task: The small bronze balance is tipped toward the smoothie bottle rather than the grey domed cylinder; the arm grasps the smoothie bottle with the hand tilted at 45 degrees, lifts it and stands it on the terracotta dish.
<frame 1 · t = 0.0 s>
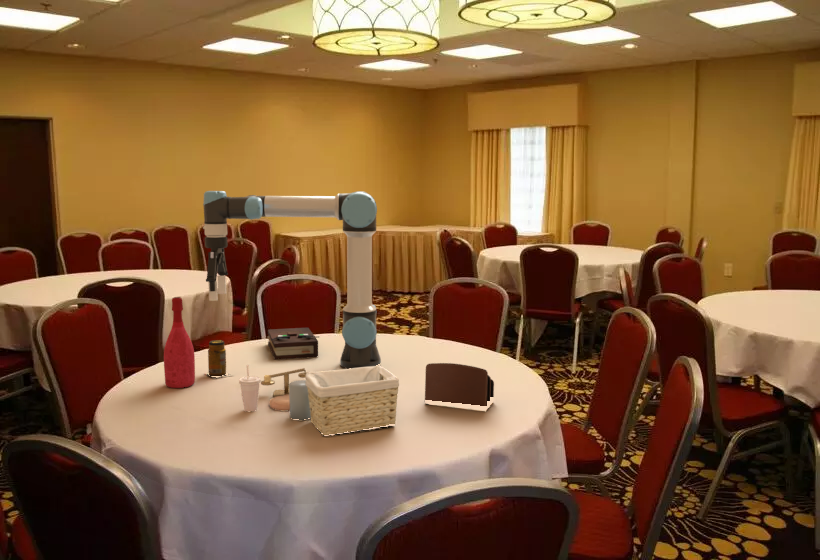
hand: (217, 297, 248), 28 cm above the table, tool pointing down, fingers open, 13 cm apart
grey domed cylinder: (301, 416, 211), on the table
dish: (289, 404, 222), on the table
smoothie: (250, 410, 216), on the table
toaster: (459, 404, 224), on the table
balance: (286, 394, 231), on the table
storage basket: (351, 425, 205), on the table
dark electronic device: (292, 351, 289), on the table
condiment: (218, 375, 253), on the table
wine bottle: (180, 385, 241), on the table
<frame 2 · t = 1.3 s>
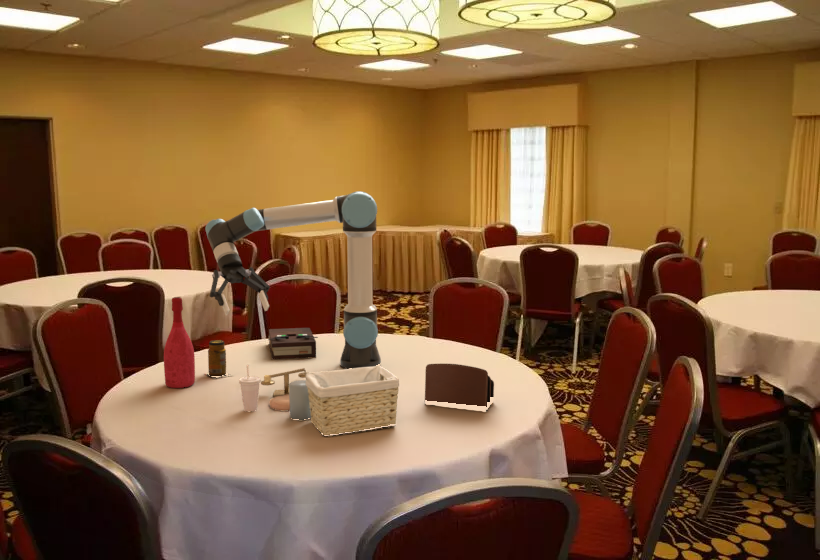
hand: (247, 310, 230), 27 cm above the table, tool tilted 45°, fingers open, 13 cm apart
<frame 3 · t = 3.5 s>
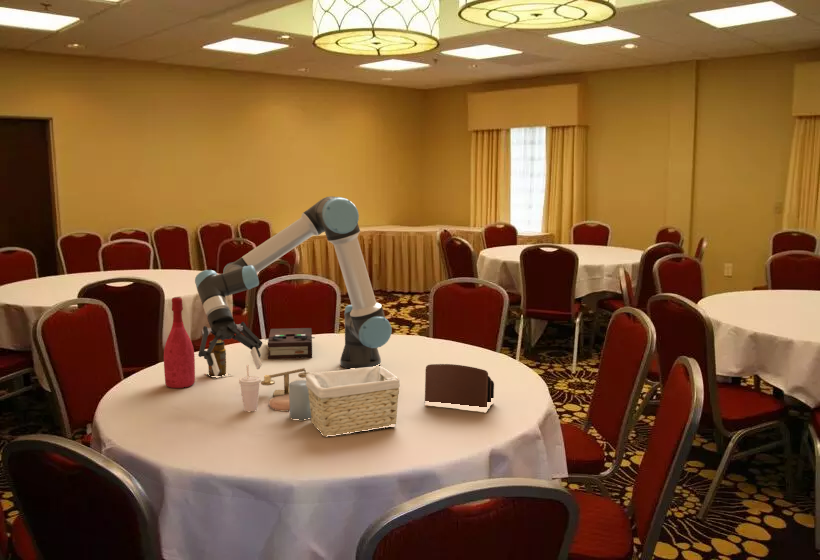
hand: (238, 370, 218), 11 cm above the table, tool tilted 45°, fingers open, 13 cm apart
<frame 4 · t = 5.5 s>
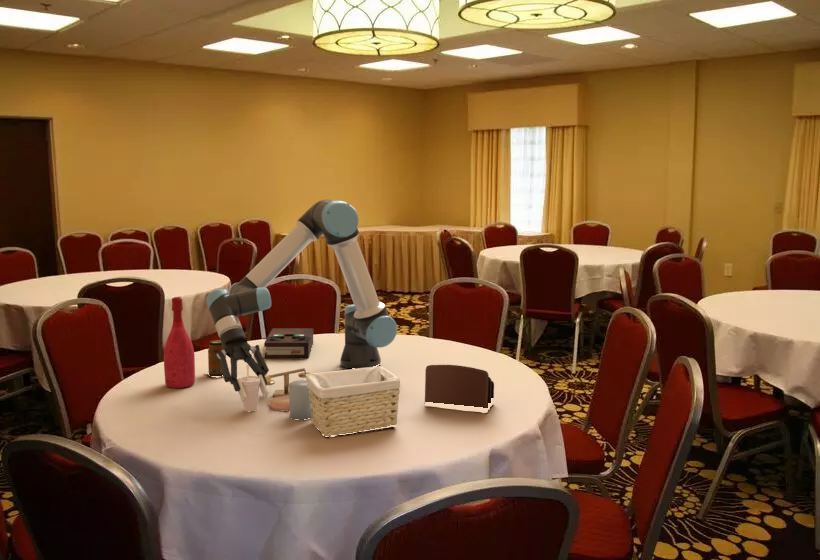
hand: (255, 397, 213), 5 cm above the table, tool tilted 45°, fingers closed on smoothie, 6 cm apart
smoothie: (250, 410, 216), on the table, touching gripper
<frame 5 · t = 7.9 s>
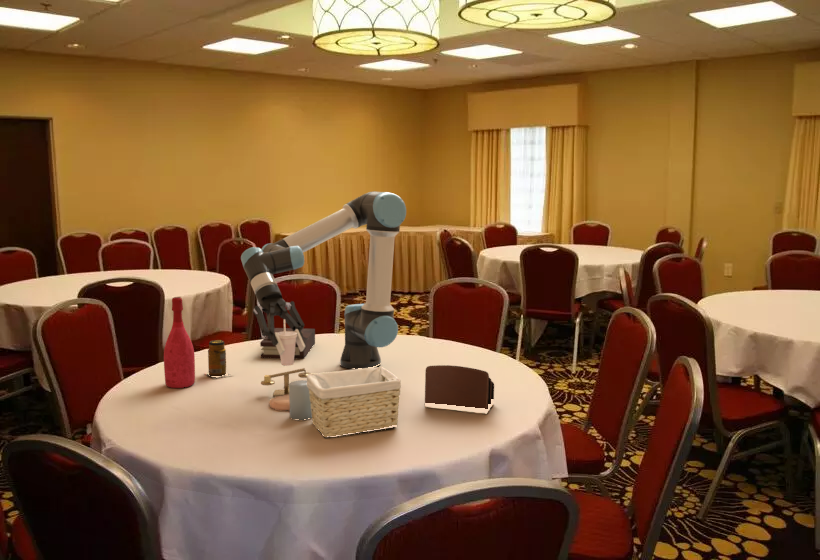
hand: (292, 350, 216), 18 cm above the table, tool tilted 45°, fingers closed on smoothie, 6 cm apart
smoothie: (287, 364, 220), point 13 cm above the table, touching gripper
when the fingers open (8 cm above the table, at t = 10.3 s): smoothie drops 1 cm, resting on dish.
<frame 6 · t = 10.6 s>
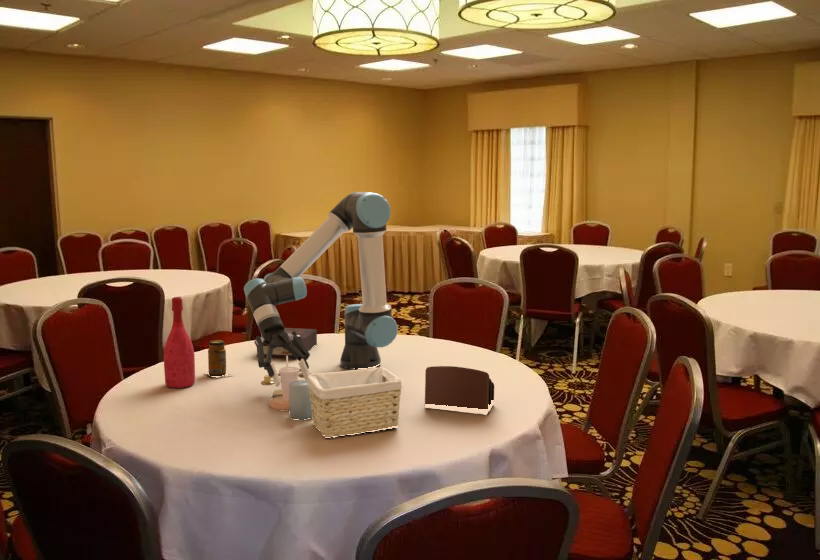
hand: (293, 381, 218), 8 cm above the table, tool tilted 45°, fingers open, 9 cm apart
smoothie: (289, 400, 222), point 1 cm above the table, touching dish
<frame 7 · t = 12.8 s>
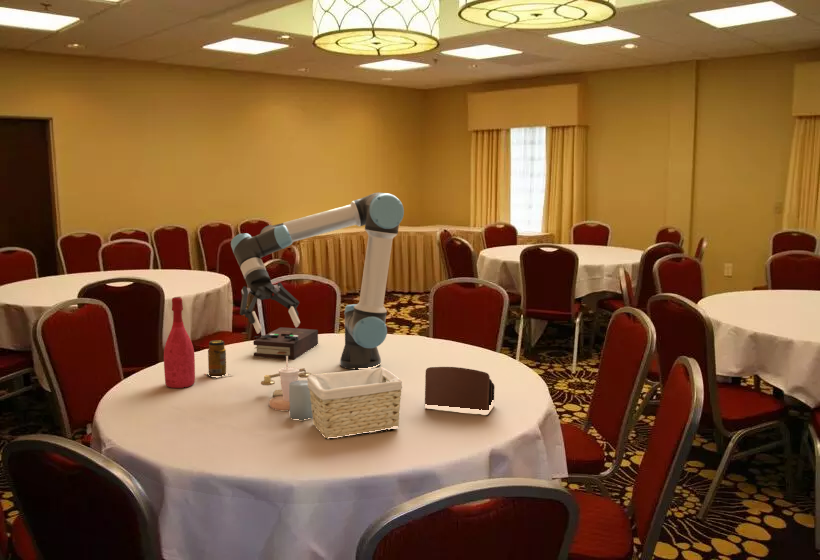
hand: (279, 328, 225), 23 cm above the table, tool tilted 45°, fingers open, 13 cm apart
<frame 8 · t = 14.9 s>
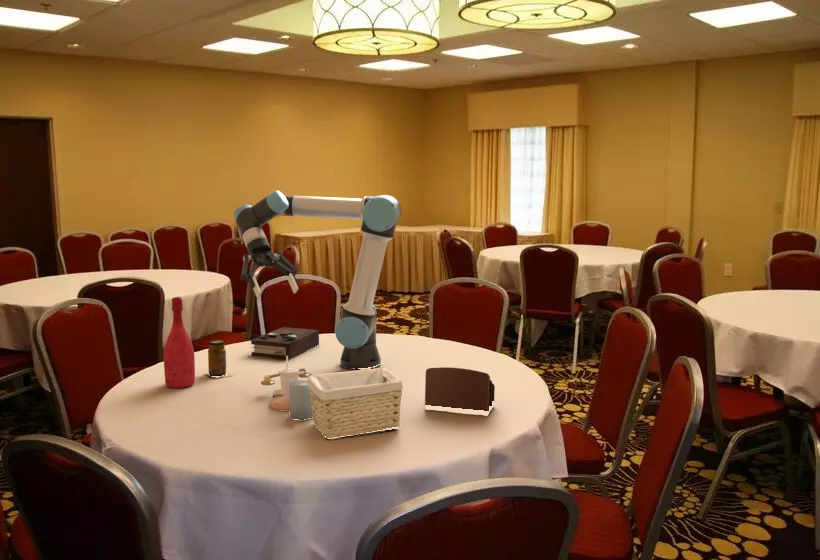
hand: (277, 292, 237), 32 cm above the table, tool tilted 45°, fingers open, 13 cm apart
at the end: smoothie 0.2 cm from the dish (horizontally); smoothie tilted 0°; smoothie touching dish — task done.
